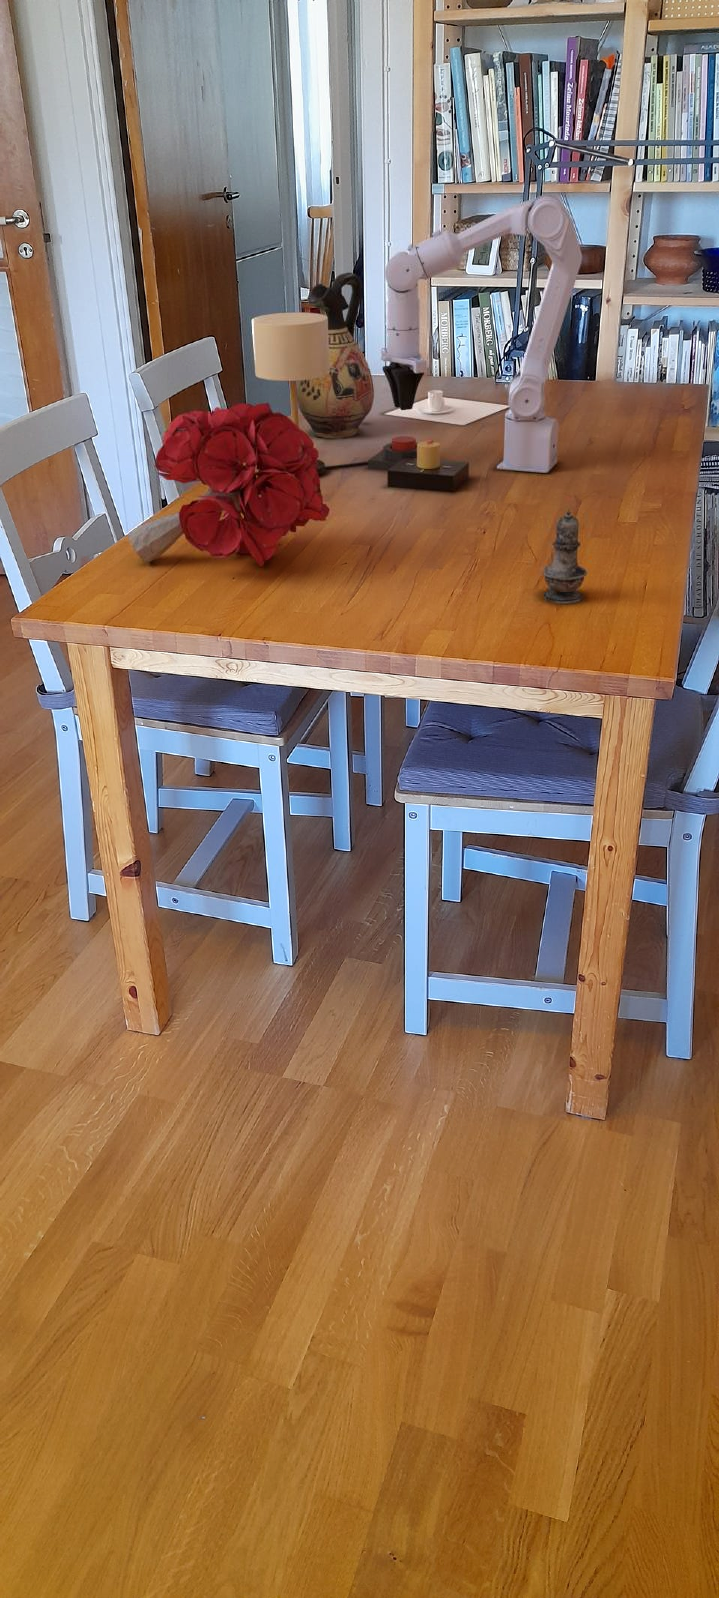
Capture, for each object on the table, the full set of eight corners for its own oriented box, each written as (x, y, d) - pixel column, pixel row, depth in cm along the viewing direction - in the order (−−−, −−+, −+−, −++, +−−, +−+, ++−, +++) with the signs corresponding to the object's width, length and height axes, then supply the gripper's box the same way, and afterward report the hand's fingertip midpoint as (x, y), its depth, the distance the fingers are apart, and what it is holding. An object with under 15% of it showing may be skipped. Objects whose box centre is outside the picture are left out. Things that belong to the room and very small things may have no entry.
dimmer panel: (468, 479, 212) (469, 461, 210) (453, 493, 205) (453, 474, 203) (404, 473, 216) (404, 456, 214) (387, 487, 209) (387, 469, 207)
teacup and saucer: (431, 404, 263) (431, 385, 261) (462, 408, 259) (462, 389, 256) (409, 412, 257) (409, 393, 255) (440, 417, 252) (440, 397, 250)
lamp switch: (419, 446, 220) (419, 436, 219) (411, 452, 216) (411, 442, 215) (396, 444, 221) (396, 435, 220) (388, 450, 218) (388, 441, 217)
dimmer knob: (435, 469, 206) (436, 445, 204) (414, 467, 208) (413, 444, 206) (442, 463, 210) (443, 439, 208) (421, 462, 211) (421, 438, 209)
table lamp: (376, 463, 222) (373, 311, 209) (342, 487, 209) (337, 327, 196) (288, 456, 228) (280, 308, 215) (250, 479, 215) (238, 323, 202)
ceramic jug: (332, 447, 233) (326, 281, 218) (283, 433, 244) (274, 274, 228) (396, 431, 243) (395, 271, 228) (346, 419, 253) (342, 265, 238)
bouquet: (168, 634, 171) (347, 528, 163) (68, 491, 162) (252, 372, 155) (193, 590, 190) (354, 493, 182) (105, 460, 182) (270, 353, 174)
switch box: (438, 462, 222) (439, 443, 220) (425, 473, 215) (425, 454, 214) (383, 458, 225) (383, 439, 224) (368, 469, 219) (367, 449, 217)
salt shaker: (536, 590, 164) (541, 503, 158) (579, 587, 164) (585, 501, 158) (546, 605, 159) (551, 517, 153) (589, 603, 159) (596, 514, 153)
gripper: (365, 323, 213) (367, 402, 220) (399, 336, 201) (400, 418, 208) (401, 320, 215) (401, 398, 222) (437, 332, 203) (436, 413, 210)
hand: (403, 407), depth 215 cm, fingers closed
